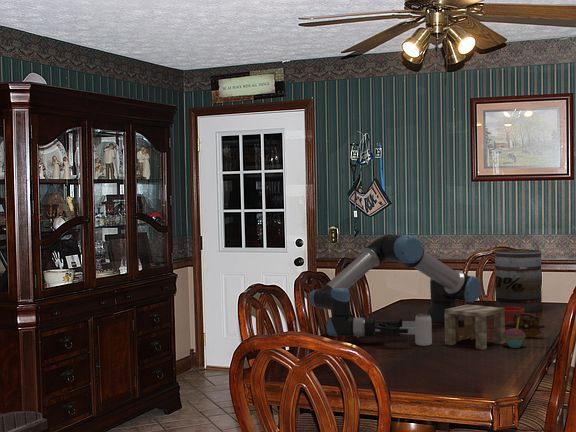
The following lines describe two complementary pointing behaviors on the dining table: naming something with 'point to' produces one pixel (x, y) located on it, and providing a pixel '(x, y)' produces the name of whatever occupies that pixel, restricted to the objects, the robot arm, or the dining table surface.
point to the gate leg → (466, 328)
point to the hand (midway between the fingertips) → (417, 327)
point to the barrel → (518, 279)
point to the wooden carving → (526, 324)
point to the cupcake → (514, 336)
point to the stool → (480, 318)
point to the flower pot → (511, 313)
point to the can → (423, 330)
